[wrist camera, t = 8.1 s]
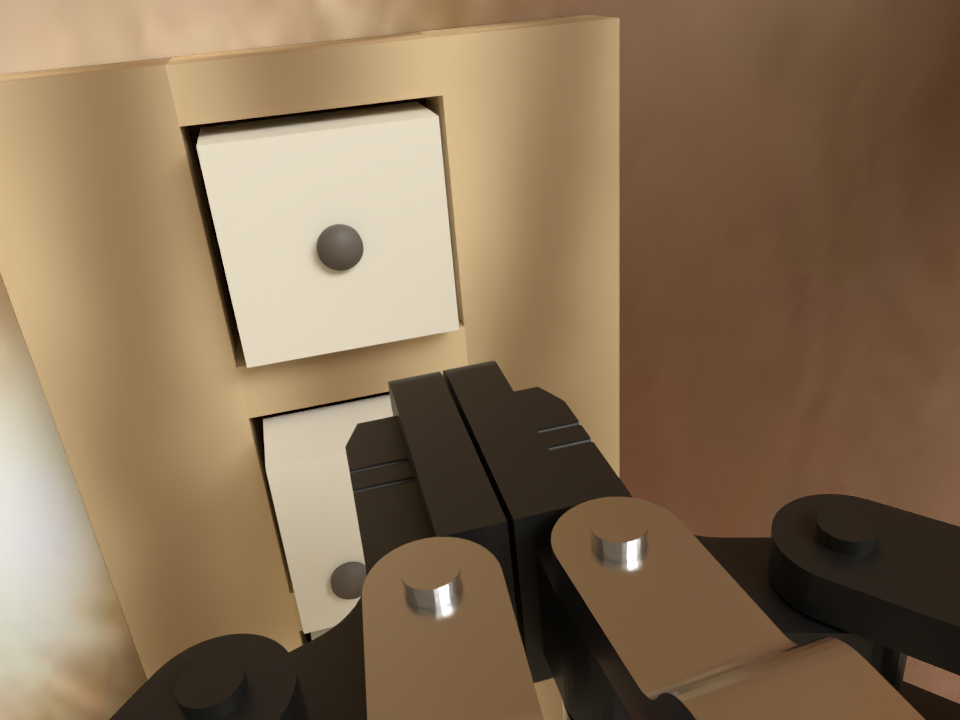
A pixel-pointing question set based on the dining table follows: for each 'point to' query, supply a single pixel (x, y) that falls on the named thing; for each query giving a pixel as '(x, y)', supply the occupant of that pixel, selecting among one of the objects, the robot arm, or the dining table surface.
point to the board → (205, 306)
